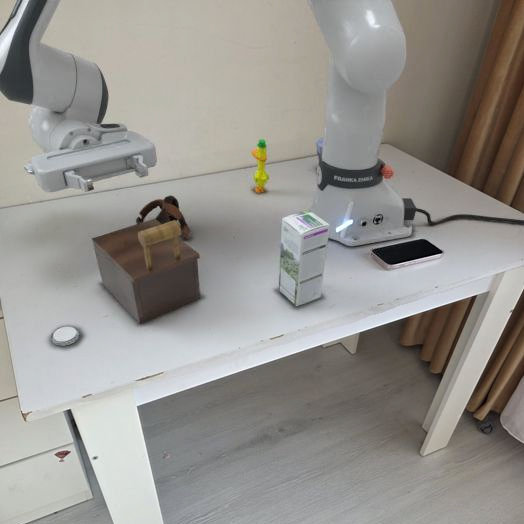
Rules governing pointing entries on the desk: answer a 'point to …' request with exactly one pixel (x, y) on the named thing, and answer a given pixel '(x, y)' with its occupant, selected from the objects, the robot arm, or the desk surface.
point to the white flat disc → (65, 335)
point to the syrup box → (302, 257)
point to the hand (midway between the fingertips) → (117, 179)
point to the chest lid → (146, 249)
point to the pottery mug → (166, 213)
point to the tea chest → (150, 288)
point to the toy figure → (260, 166)
